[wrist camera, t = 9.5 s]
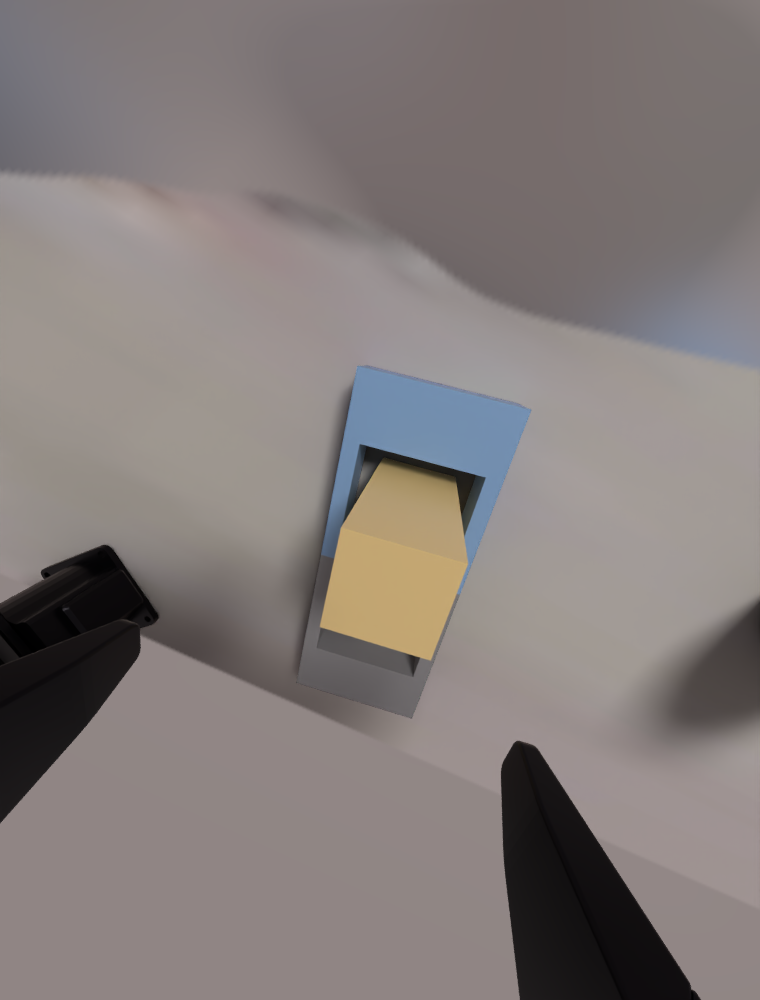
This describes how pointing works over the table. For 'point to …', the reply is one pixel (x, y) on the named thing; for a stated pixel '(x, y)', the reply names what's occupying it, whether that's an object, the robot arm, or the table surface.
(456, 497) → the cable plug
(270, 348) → the table surface
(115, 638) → the robot arm
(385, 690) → the duct block
